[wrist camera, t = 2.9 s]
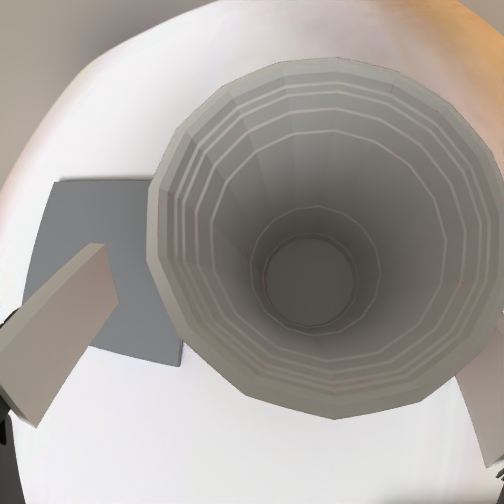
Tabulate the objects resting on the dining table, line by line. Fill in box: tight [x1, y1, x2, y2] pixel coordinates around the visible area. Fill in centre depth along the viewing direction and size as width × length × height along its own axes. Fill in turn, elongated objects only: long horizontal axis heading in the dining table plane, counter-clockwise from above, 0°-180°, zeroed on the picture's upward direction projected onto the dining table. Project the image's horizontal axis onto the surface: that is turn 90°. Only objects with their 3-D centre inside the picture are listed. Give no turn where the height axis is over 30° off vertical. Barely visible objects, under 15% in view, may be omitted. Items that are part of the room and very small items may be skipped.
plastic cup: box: [146, 58, 504, 420], centre depth 13 cm, size 11×11×12 cm
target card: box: [22, 180, 183, 367], centre depth 19 cm, size 14×12×1 cm
